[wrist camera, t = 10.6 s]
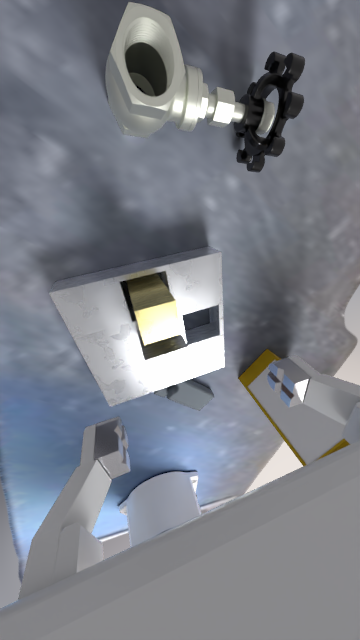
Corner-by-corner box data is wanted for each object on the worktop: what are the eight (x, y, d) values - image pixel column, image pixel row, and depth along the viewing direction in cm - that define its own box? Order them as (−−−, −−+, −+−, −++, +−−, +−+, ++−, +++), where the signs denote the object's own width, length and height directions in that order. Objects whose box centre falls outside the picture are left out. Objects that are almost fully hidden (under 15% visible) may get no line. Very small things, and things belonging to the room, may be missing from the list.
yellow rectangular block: (154, 270, 22) (175, 300, 16) (160, 296, 24) (181, 333, 17) (125, 277, 22) (134, 311, 15) (133, 303, 23) (144, 345, 17)
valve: (109, 159, 17) (238, 176, 20) (112, 139, 11) (287, 167, 15) (99, 32, 13) (254, 79, 17) (96, -81, 8) (325, 22, 12)
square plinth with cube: (215, 353, 31) (244, 394, 25) (109, 388, 28) (111, 446, 22) (208, 246, 23) (251, 265, 16) (55, 281, 20) (31, 322, 13)
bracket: (195, 402, 37) (199, 411, 35) (150, 384, 31) (153, 394, 29) (210, 387, 36) (215, 396, 34) (167, 366, 30) (171, 375, 29)
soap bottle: (273, 395, 43) (411, 557, 24) (238, 378, 36) (391, 584, 17) (298, 371, 41) (469, 523, 22) (267, 348, 35) (472, 538, 15)
